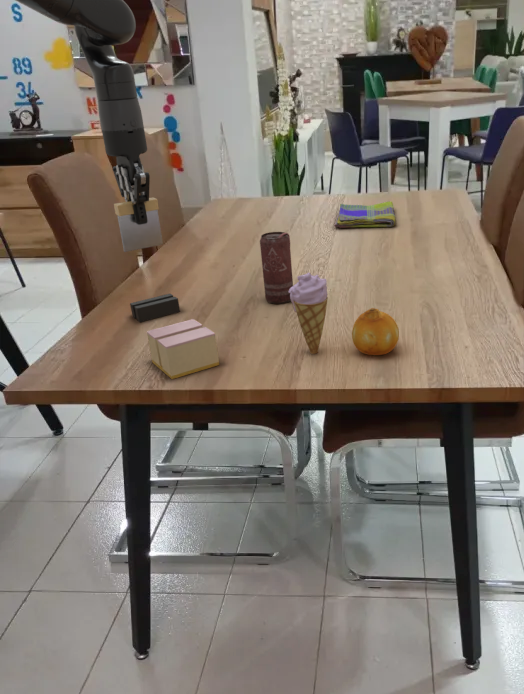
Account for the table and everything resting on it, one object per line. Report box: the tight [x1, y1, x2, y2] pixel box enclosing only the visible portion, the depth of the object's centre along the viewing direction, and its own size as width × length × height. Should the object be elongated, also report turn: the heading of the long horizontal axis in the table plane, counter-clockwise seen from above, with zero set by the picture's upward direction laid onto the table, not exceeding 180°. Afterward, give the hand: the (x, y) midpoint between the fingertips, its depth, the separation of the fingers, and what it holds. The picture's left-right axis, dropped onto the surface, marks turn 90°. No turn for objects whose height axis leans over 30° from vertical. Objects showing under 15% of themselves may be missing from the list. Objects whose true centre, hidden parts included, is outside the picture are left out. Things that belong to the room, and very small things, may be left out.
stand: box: [129, 293, 181, 323], centre depth 145 cm, size 9×4×3 cm, turn 123°
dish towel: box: [334, 201, 396, 229], centre depth 206 cm, size 18×24×3 cm
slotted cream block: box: [146, 318, 220, 380], centre depth 121 cm, size 9×9×6 cm
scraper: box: [113, 197, 164, 253], centre depth 134 cm, size 8×2×9 cm, turn 124°
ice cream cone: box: [288, 271, 328, 355], centre depth 120 cm, size 7×6×15 cm
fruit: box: [351, 307, 400, 356], centre depth 121 cm, size 8×8×8 cm
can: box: [259, 231, 294, 305], centre depth 146 cm, size 6×6×14 cm
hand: (139, 222), depth 134 cm, fingers closed on scraper, 2 cm apart
